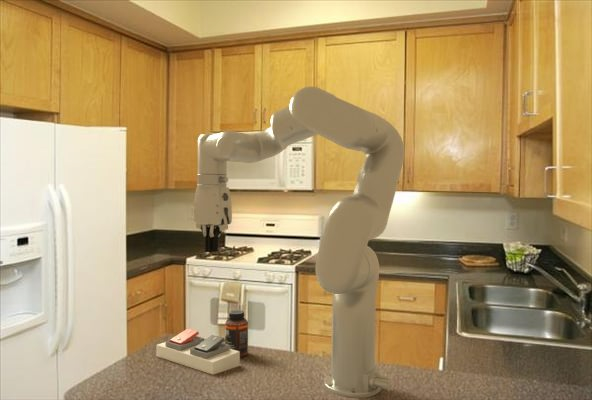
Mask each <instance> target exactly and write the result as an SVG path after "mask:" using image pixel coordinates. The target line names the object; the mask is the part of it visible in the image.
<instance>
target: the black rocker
mask: <svg viewBox="0 0 592 400" xmlns="http://www.w3.org/2000/svg"><path fill="white" fill-rule="evenodd" d="M221 343H225V338H224V337H222V336H219V335H214V334H211V335H210V336H208V337H206V338H205V339H204V341H203V342H201V343H200V344H199V345H197V346H196V347H195V350H198V351H201V352H205V353H208V352H210V351H213V350H216V349H219V345H220V344H221Z"/></svg>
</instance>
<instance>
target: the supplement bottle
mask: <svg viewBox="0 0 592 400" xmlns="http://www.w3.org/2000/svg"><path fill="white" fill-rule="evenodd" d="M248 326H249V323H248V319H246V318H245V311H244V310H241V309H233V310H229V312H228V319H227V320H226V321H225V329H224V331H225V332H224V333H225V335H224V337H225V338H224V344H228V345H230V349H232V350H236V351H240V358H243V357H245V356H247V355H248V353H249V327H248Z"/></svg>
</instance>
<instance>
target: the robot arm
mask: <svg viewBox="0 0 592 400" xmlns="http://www.w3.org/2000/svg"><path fill="white" fill-rule="evenodd" d="M289 102H290V103H289V106H286V107H284V108H282V109H279V110H277V111H275V112H274V113H273V114H272V115H271V118H270V126H269V127H268V128H266V129H264V130H262V131H259V132H256V133H253V134H249V133H244V132H238V131H233V130H225V131H221V132H218V133H204V134H200V135H199V137H198V139H197V183H196V185H197V187H195V194H194V201H193V220H194V223H196V224H195V228H196V229H198V230H200V231H201V232H202V235H203V237H204V251H205V252H206V253H217V252H218V251H219V237H220V236H221V233H222V232H223V231H226V230H229V225H231V224H232V222H233V212H232V211H233V209H232V198H231V192H230V188H229V187H228V186H227V185H228V182H229V178H228V176H227V174H228V173H227V171H228V170H227V167H228V166H227V163H228V162H231V163H232V162H233V163H244V164H254V163H259V162H261V161H264V160H267V159H269V158H272V157H274V156H277V155H279V154H280V153H282V152H283V151H284V150H286V149H287V148H288V147H290V146H291V145H294V144H296V143H299V142H301V141H304V140H306V139H309V138H313V137H314V136H320V137H323V138H324V139H326V140H328V141H330V142H332V143H334V144H336V145H338V146H340V147H343V148H346V150H347V149H349V150H352V151H355V152H361V153H362V152H363V154H364V155H365V157H364V158H365V159H364V162H363V163H362V166H361V167H360V169H359V172H358V174H357V179H356V183H355V186H354V189H353V193H352V195H348V196H346V197H343V198H341V199H339V200H338V201H336V202H335V204H334V205H333V206H332V208H331V209H330V211H329V213H328V216H327V218H326V222H325V224H324V225H325V226H324V229H323V233H322V237H321V241H320V243H319V244H320V245H319V247H318V251H317V256H316V261H315V276H316V279H317V280H316V281H317V282H318V283H319V285H320V286H321V288H322V289H323V290H325V291H326V292H328V293H330V294H332V303H331V304H332V305H331V357H330V358H331V360H330V362H331V366H330V373H329V374H327V375H326V376H325V377H324V378H323V386H324V388H325V389H326V390H327V391H328V392H330V393H333V394H335V395H338V396H343V397H347V398H356V399H358V398H359V399H362V398H370V397H374V396H376V395H378V394H379V393H380V392H381V391H382V390H385V391H391V389H392V381H391V377H389V376H385V375H381V373H380V367H379V366H376V365H375V364H376V363H375V361H376V359H375V358H376V316H377V315H376V313H377V312H376V311H377V308H376V307H377V292H378V284H379V275H380V263H379V259H378V256H377V253H376V252H375V251H374V250H373V249H372V248H371V247H370V246H368V243H369V241H371V240H373V239H376V238H378V237H380V236H381V235H382V234H383V233H384V231H385V230H386V228H387V225H388V221H389V217H390V213H391V211H392V210H391V209H392V206H393V204H394V203H393V202H394V199H395V195H396V193H397V192H396V190H397V187H398V184H399V183H398V182H399V179H400V176H401V174H402V168H403V165H404V160H405V146H404V141H403V139H402V136H401V134H400V133H399V131H398V130H397V129H396V127H395V126H394V125H392V123H390V122H389V121H388V120H387V119H385V118H383V117H382V116H380V115H378V114H376V113H374V112H371V111H369V110H366V109H364V108H361V107H359V106H357V105H355V104H352V103H350V102H348V101H346V100H343V99H341V98H339V97H337V96H336V95H335V94H333V93H331V92H329V91H326V90H324V89H321V88H320V87H317V86H304V87H303V88H300V89H298V90H297V91H296V92H295V93H294V94H293V96H292V97H291V99H290V101H289Z"/></svg>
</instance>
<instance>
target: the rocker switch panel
mask: <svg viewBox="0 0 592 400" xmlns="http://www.w3.org/2000/svg"><path fill="white" fill-rule="evenodd" d="M170 340H171V339H170ZM170 340H167V341H163V342H162V343H157V344H156V348H155V349H156V350H155V352H156V354H155V355H156V358H160V359H164V360H167V361H170V362H173V363H176V364H179V365H182V366H185V367H188V368H192V369H194V370H198V371H201V372H205V373H207V374H210V375H216V374H219V373H222V372H225V371H228V370H231V369H234V368H237V367H240V365H241V362H240V361H241V360H240V359H241V357H240V351H236V350H232V349H230V345H228V344H225V342H222V343H221V344H220V345H219V349H216V350H213V351H210V352H208V353H205V352H201V351H198V350H195V347H196V346H197V345H199V344H200V343H201V342H203V341H204V340H205V338H204V337H203V336H202V337H201V336H199V335H197V336H195V337H194V338H193V341H192V342H189V343H186V344H183V345H178V344H174V343H171V342H170Z"/></svg>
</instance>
